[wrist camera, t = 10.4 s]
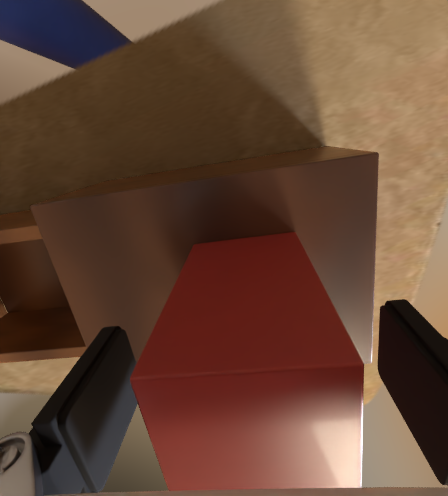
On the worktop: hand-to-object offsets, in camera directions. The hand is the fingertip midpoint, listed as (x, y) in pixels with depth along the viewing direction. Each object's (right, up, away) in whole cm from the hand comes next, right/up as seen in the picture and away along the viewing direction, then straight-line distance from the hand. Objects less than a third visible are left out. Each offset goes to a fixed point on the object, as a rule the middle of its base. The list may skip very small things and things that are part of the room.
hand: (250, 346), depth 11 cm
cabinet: (-1, +4, +12) cm, 13 cm away
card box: (0, +2, +4) cm, 5 cm away
